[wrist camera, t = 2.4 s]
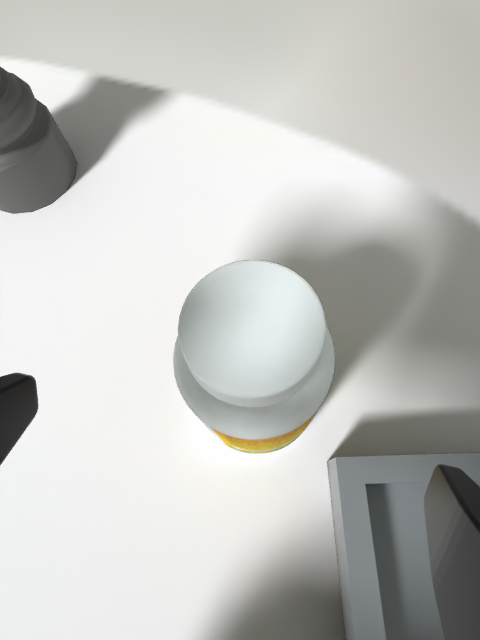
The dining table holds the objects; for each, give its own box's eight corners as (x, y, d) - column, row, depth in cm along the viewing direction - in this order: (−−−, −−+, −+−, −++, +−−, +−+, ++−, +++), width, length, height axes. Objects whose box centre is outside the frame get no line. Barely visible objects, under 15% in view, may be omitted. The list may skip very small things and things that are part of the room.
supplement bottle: (179, 402, 20) (108, 331, 11) (252, 325, 21) (241, 205, 12) (263, 482, 18) (259, 474, 9) (336, 393, 20) (393, 311, 11)
